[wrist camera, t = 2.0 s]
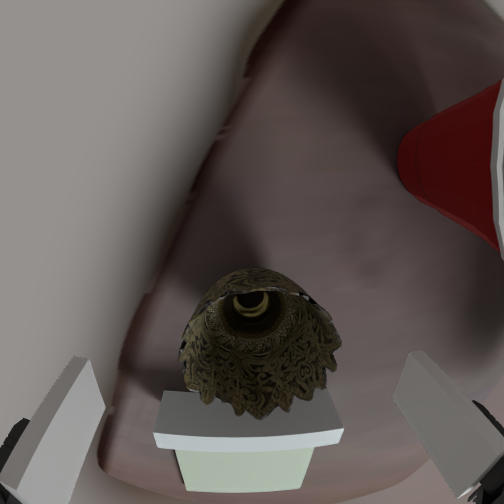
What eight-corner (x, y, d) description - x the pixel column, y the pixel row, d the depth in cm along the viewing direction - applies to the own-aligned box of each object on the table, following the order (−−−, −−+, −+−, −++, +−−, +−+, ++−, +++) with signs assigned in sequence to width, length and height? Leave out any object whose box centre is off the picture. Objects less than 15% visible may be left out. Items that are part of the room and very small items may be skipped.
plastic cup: (368, 242, 19) (490, 313, 8) (357, 91, 17) (477, 27, 5) (468, 231, 20) (574, 272, 8) (463, 109, 17) (571, 96, 6)
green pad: (319, 418, 24) (321, 423, 23) (298, 483, 27) (300, 488, 26) (170, 420, 23) (168, 426, 22) (187, 485, 26) (187, 490, 25)
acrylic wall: (327, 388, 23) (344, 428, 18) (323, 404, 23) (338, 443, 18) (164, 390, 22) (152, 432, 17) (167, 406, 22) (157, 447, 17)
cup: (176, 307, 20) (149, 378, 12) (236, 221, 18) (239, 253, 11) (261, 357, 21) (274, 435, 13) (323, 283, 20) (371, 342, 12)
